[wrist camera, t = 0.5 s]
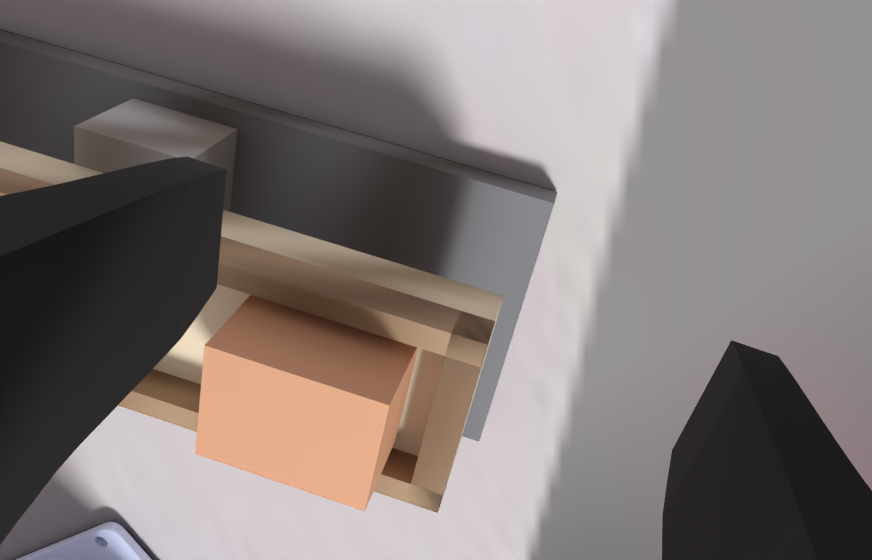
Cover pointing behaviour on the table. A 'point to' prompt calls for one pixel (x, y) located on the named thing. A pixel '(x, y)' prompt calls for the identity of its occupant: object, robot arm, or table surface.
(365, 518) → the table surface
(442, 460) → the balance beam
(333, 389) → the block
